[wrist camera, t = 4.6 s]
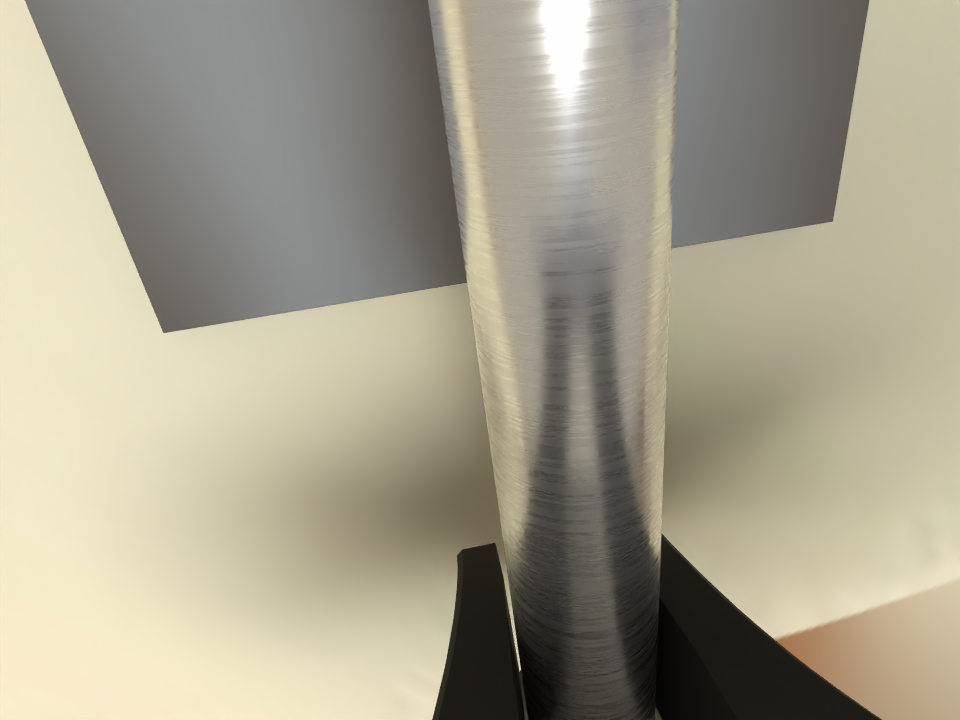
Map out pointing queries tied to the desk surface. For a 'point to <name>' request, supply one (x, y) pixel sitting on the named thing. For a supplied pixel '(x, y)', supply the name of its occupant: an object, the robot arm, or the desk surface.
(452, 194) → the bearing block
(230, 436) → the desk surface
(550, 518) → the shaft
